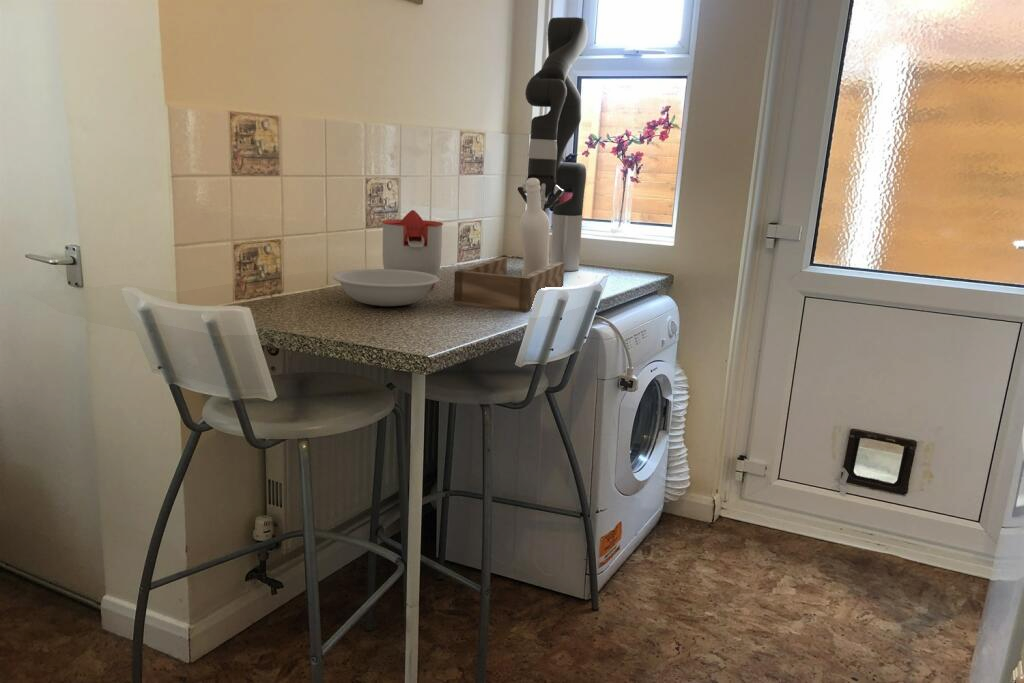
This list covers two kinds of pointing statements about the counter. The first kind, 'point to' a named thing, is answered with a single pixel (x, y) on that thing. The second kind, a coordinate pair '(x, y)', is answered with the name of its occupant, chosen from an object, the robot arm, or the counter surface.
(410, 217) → the citrus juicer
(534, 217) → the bottle
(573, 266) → the robot arm
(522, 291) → the brown wooden open box
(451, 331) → the counter surface
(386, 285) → the soup bowl
